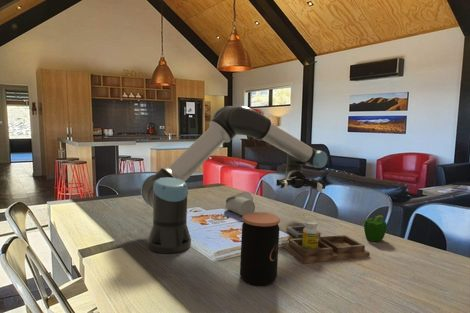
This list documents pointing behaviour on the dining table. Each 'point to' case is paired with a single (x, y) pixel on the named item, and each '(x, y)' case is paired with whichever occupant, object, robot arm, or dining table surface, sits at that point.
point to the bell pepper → (375, 228)
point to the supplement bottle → (310, 235)
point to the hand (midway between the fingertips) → (303, 187)
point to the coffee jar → (259, 248)
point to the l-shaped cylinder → (241, 203)
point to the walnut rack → (327, 249)
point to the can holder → (297, 231)
